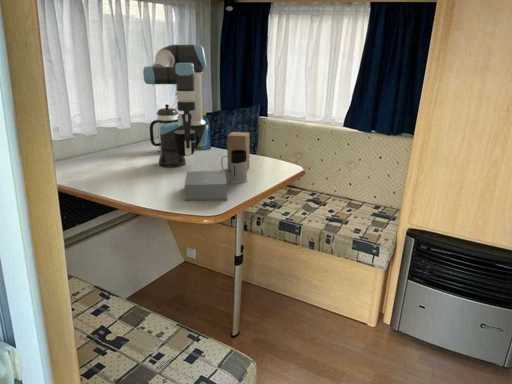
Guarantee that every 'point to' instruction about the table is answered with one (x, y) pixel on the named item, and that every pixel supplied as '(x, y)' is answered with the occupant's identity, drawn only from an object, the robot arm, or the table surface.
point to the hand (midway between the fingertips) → (188, 152)
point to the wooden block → (238, 145)
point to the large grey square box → (205, 186)
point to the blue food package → (208, 144)
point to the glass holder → (238, 166)
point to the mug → (181, 144)
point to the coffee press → (163, 121)
